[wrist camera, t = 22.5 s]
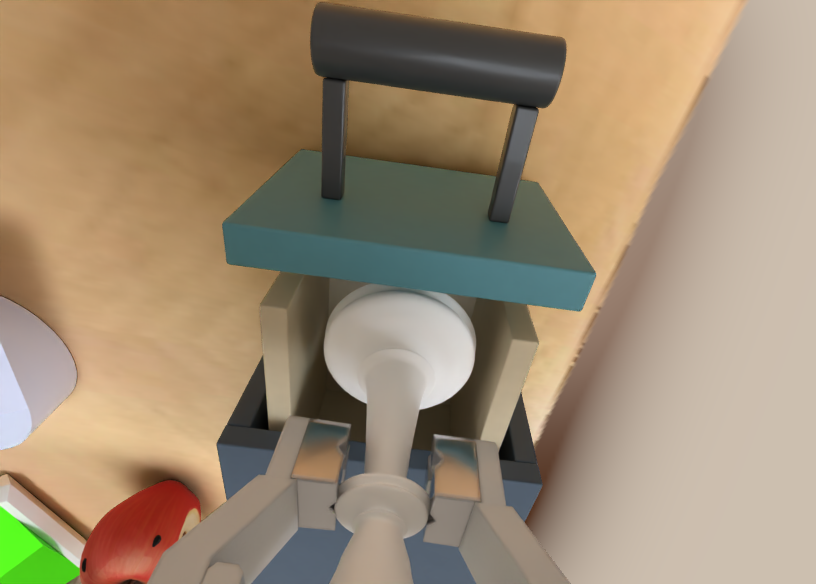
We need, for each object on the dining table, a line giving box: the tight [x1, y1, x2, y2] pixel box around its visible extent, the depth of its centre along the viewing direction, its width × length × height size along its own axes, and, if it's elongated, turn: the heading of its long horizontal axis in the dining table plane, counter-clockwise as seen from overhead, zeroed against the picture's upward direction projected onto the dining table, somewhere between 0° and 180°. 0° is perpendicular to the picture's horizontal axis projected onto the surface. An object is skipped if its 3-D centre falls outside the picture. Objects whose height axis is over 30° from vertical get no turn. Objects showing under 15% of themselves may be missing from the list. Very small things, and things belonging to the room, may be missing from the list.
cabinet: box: [217, 356, 542, 584], centre depth 21 cm, size 14×11×9 cm
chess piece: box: [324, 283, 476, 584], centre depth 10 cm, size 5×5×10 cm
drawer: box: [222, 2, 596, 452], centre depth 16 cm, size 17×9×7 cm, turn 173°
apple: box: [80, 480, 201, 584], centre depth 27 cm, size 8×7×10 cm
